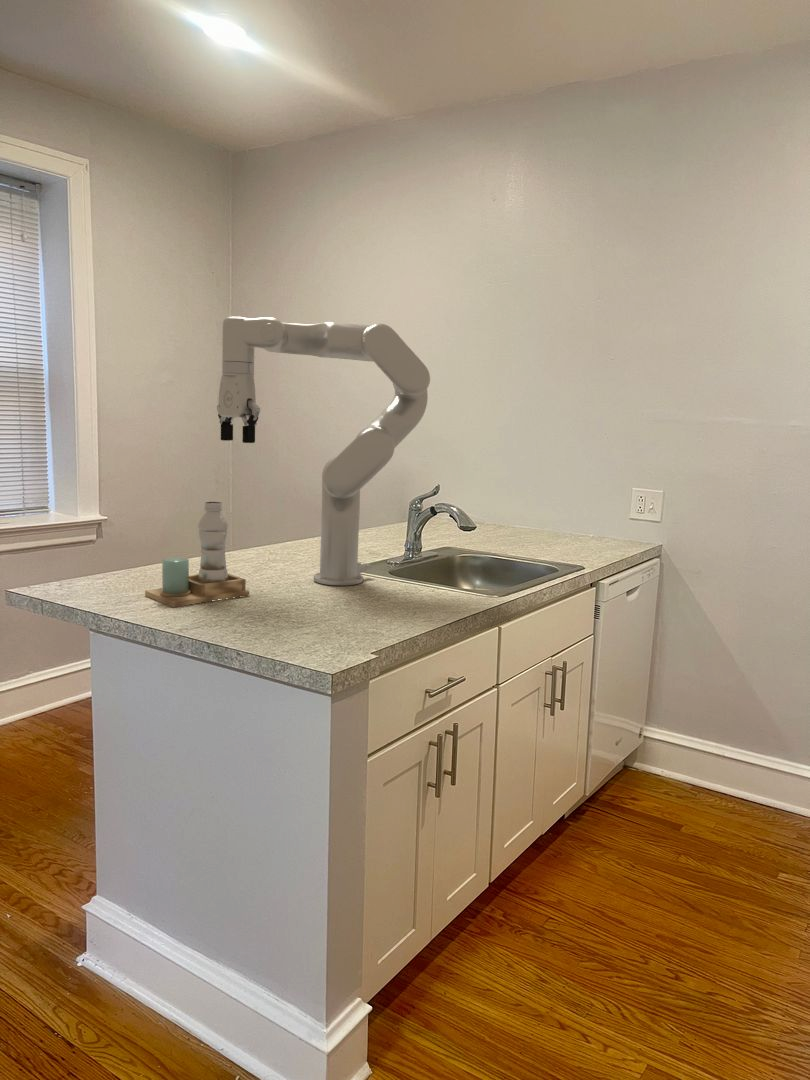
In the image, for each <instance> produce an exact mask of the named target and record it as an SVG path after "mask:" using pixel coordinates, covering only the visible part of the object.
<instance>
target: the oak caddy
mask: <svg viewBox="0 0 810 1080" xmlns="http://www.w3.org/2000/svg"><path fill="white" fill-rule="evenodd" d="M198 576H199V573H198V574H189V591H188V592H187V593H182V594H167V593H164V592H163V591H162V587H161V588H160V587H159V588H152V589H145V590H144V596H146V597H148V598H149V599H150V598H151V599H153V600H154V599H155V601H157V602H159V603H161V604H164V605H166V604H167V606H169V607H171V606H172V608H173V607H174V608H179V607H178V606H180V607H185V606H184V605H187V606H190V605H189V604H193V605H195V604H194V603H200V604H202V603H201V602H206V601H212V600H218V599H226V598H233V597H240V596H246V597H249V596H250V590H249V589H246V588H247V587H246V585H247V584H246V582H247V581H246V579H245V578H243V577H239V576H237V575H233V574H230V573H228V581H222V582H214V583H207V584H201V583H199V579H198ZM248 595H249V596H248ZM240 598H241V597H240ZM233 599H234V598H233ZM226 600H227V599H226Z"/></svg>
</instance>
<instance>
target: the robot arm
mask: <svg viewBox="0 0 810 1080" xmlns="http://www.w3.org/2000/svg"><path fill="white" fill-rule="evenodd" d="M221 348H222V353H221V354H222V355H221V357H222V358H221V359H222V360H221V361H222V362H221V363H222V366H221V367H222V372H221V373H222V374H221V377H220V382H219V383H220V384H219V391H218V405H217V406H216V409H217V413H218V414H217V417H218V419H219V424H220V440H221V441H229V442H230V441H233V440H234V424H233V423H232V422H233V421H234V419H235V418H241V420H242V423H243V424H244V425H242V443H243V444H255V442H256V426H257V423H258V420H259V415H260V412H261V408H260V407H259V406H258V405H257V401H256V399H257V398H256V386H255V385H256V384H255V379H254V378H255V348H259V349H263V350H265V351H267V352H270V353H277V354H286V355H287V354H288V355H289V354H290V355H300V356H302V355H303V356H313V357H318V358H329V359H337V360H338V359H339V360H340V359H341V360H342V359H343V360H350V361H351V360H352V361H360V362H362V361H363V362H372V363H374V364H375V365H376V366H377V368H379V369H380V370H381V372H382V373H383V374H384V375H385V376H386V377H387V378H388V379H389V380H390V382H391V383H392V385H393V388H394V397H393V399H392V400H391V402H390V403H389V405H388V406H386V408H385V409H383V411H382V412H381V413H380V414H379V415H378V416H377V417H376V418H375V419H374V420H372V421H371V422H370V423H369V424H368V425H367V426H366V427H364V428H363V429H362V430H360V431H359V432H358V434H357V435H356V437H355V438H354V439H353V440H352V441H351V442H350V443H349V444H347V446H346V447H345V448H344V449H343V450H342V451H341V452H340V453H339V454H338V455H337V456H335V457H332V458H330V459H329V460H327V462H326V464H324V466H323V470H322V472H321V473H322V474H321V515H320V516H321V519H320V525H321V526H320V550H319V552H320V554H319V555H320V556H319V572H317V573H315V574H314V575H313V581H314V582H316V583H318V584H322V585H329V586H341V587H342V586H355V585H359V584H361V583H363V581H364V576H363V575H362V574H361V573H363V572H367V571H368V572H369V571H371V570H372V563H370V562H367V563H361V562H359V560H358V559H359V558H358V557H359V532H360V507H361V489H362V488H364V487H365V485H367V484H368V483H369V482H370V481H371V480H372V479H373V478H374V477H375V476H376V475H377V474H378V473H379V472H380V471H381V470H382V469H383V468H385V466H386V465H387V464H388V463H389V462H390V461H391V459H392V458H393V456H394V453H395V449H396V448H397V446H398V445H400V444H401V442H402V441H403V440H404V439H405V438H406V437H407V436H408V435H409V434H410V433H411V432H412V431H413V430H414V429H415V428H416V427H417V426H418V425H419V423H420V422H421V420H422V419H423V417H424V414H425V412H426V409H427V405H428V399H429V398H428V387H429V386H430V382H431V375H430V372H429V369H428V367H427V366H426V365H425V364H424V362H423V361H422V360H421V359H420V358H419V356H417V354H416V353H415V352H414V351H413V350H412V349H411V347H409V346H408V344H406V342H405V341H404V340H403V339H402V338H401V337H400V335H399V334H398V333H397V332H396V331H395V329H394V328H393V327H391V326H389V325H387V324H384V323H376V324H373V325H368V324H357V323H356V324H354V323H346V322H337V321H324V322H319V323H313V324H312V323H311V324H309V323H308V324H304V323H292V322H290V323H289V322H281V321H280V320H279V319H278V318H275V317H272V316H271V317H268V316H267V317H266V316H265V317H256V318H254V317H253V318H251V317H250V318H249V317H246V316H245V317H242V316H227V317H225V318H224V319H223V321H222V347H221Z"/></svg>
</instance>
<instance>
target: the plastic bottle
mask: <svg viewBox="0 0 810 1080" xmlns="http://www.w3.org/2000/svg"><path fill="white" fill-rule="evenodd" d="M203 510H204V512H205V513H204V514H203V515H202V516H201V518H200V519H199V521H198V524H197V525H198V526H197V528H198V529H197V530H198V535H199V541H200V543H199V544H200V553H201V554H200V562H199V563H200V565H199V567H200V568H199V571H198V574H199V576H198V579H199V583H201V584H207V583H214V582H222V581H228V574H229V572H228V569H227V562H226V559H227V558H226V544H227V534H228V523H227V520H226V519H225V517H224V515H223V514H222V512H221V511H223V508H222V502H220V501H205V502H204V509H203Z"/></svg>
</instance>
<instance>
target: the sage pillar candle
mask: <svg viewBox="0 0 810 1080" xmlns="http://www.w3.org/2000/svg"><path fill="white" fill-rule="evenodd" d="M161 562H162V565H161V566H162V567H161V568H162V571H161V572H162V573H161V574H162V576H161V577H162V582H161V583H162V585H161V588H162V591H163V592H164V593H167V594H182V593H187V592H188V591H189V575H190V573H189V572H190V571H189V568H190V565H189V562H190V561H189V559H188V558H185V557H184V558H183V557H168V558H164V559H162V560H161Z"/></svg>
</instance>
